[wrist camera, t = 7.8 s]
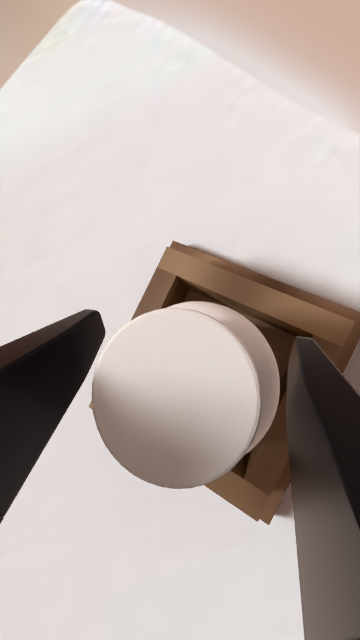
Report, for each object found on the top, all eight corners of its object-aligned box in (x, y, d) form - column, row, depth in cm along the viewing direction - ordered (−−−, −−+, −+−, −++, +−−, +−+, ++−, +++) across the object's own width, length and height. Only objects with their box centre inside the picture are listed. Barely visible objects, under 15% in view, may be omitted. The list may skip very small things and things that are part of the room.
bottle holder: (361, 319, 14) (402, 306, 11) (267, 513, 14) (273, 571, 11) (177, 246, 18) (157, 217, 14) (100, 403, 18) (59, 415, 14)
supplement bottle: (263, 422, 14) (302, 557, 5) (168, 412, 15) (53, 502, 6) (264, 324, 15) (300, 273, 5) (173, 322, 16) (74, 279, 7)
